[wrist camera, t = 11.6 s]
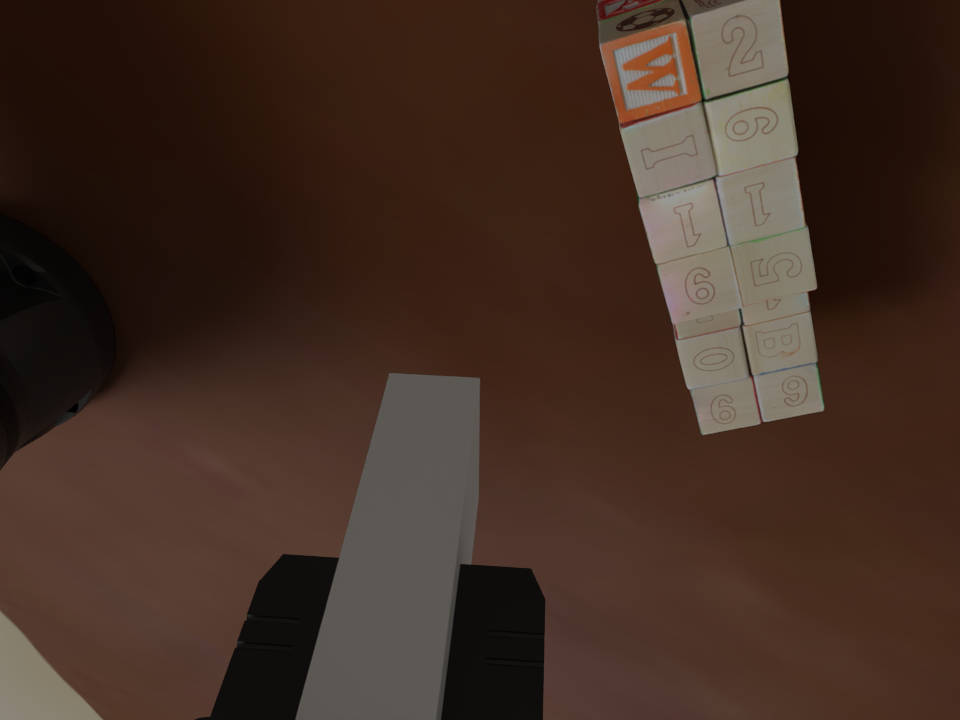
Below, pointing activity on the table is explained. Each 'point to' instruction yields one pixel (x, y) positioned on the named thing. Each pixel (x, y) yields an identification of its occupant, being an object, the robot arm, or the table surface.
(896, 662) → the table surface
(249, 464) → the table surface
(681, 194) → the stack of blocks
